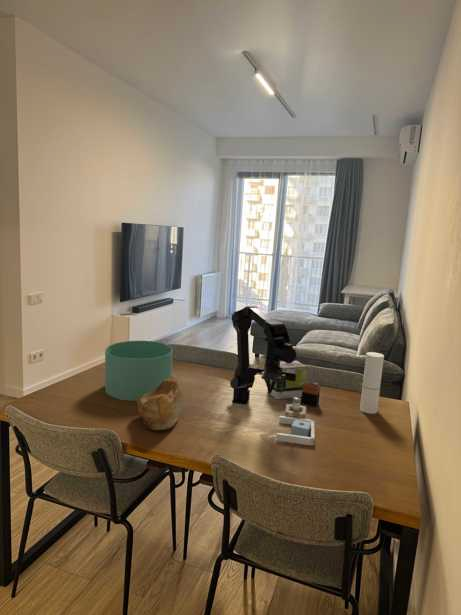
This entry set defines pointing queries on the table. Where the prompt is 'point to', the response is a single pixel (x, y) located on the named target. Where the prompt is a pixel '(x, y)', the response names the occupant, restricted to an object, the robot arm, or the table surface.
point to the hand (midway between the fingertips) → (269, 393)
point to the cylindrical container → (371, 382)
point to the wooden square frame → (294, 414)
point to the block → (301, 428)
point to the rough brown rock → (161, 405)
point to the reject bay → (296, 438)
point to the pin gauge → (296, 404)
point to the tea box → (290, 387)
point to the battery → (310, 394)
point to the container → (136, 368)
